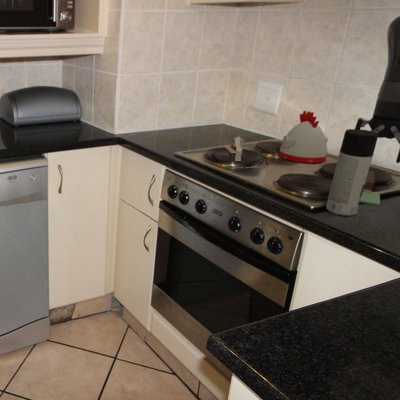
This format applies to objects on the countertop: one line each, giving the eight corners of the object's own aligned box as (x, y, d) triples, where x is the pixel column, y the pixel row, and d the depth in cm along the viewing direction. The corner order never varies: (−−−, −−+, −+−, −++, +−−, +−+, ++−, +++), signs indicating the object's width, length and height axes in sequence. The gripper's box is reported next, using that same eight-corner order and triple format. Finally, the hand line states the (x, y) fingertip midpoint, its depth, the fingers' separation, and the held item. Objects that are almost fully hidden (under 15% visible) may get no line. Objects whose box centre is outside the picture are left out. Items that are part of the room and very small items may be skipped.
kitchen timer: (306, 150, 166) (314, 107, 160) (335, 161, 153) (346, 114, 148) (270, 152, 164) (277, 108, 158) (296, 163, 151) (305, 116, 146)
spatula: (354, 178, 140) (357, 168, 139) (378, 182, 137) (381, 172, 136) (351, 200, 124) (354, 190, 123) (379, 206, 121) (382, 195, 120)
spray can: (361, 218, 114) (385, 136, 106) (330, 215, 115) (352, 134, 107) (349, 207, 120) (371, 129, 112) (320, 205, 121) (340, 127, 113)
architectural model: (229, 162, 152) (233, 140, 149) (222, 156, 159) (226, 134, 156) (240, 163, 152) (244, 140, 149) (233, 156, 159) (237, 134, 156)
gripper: (361, 98, 123) (346, 158, 129) (430, 103, 116) (411, 167, 122) (362, 94, 129) (348, 152, 135) (428, 99, 121) (410, 160, 127)
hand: (378, 159), depth 128 cm, fingers open, 8 cm apart
